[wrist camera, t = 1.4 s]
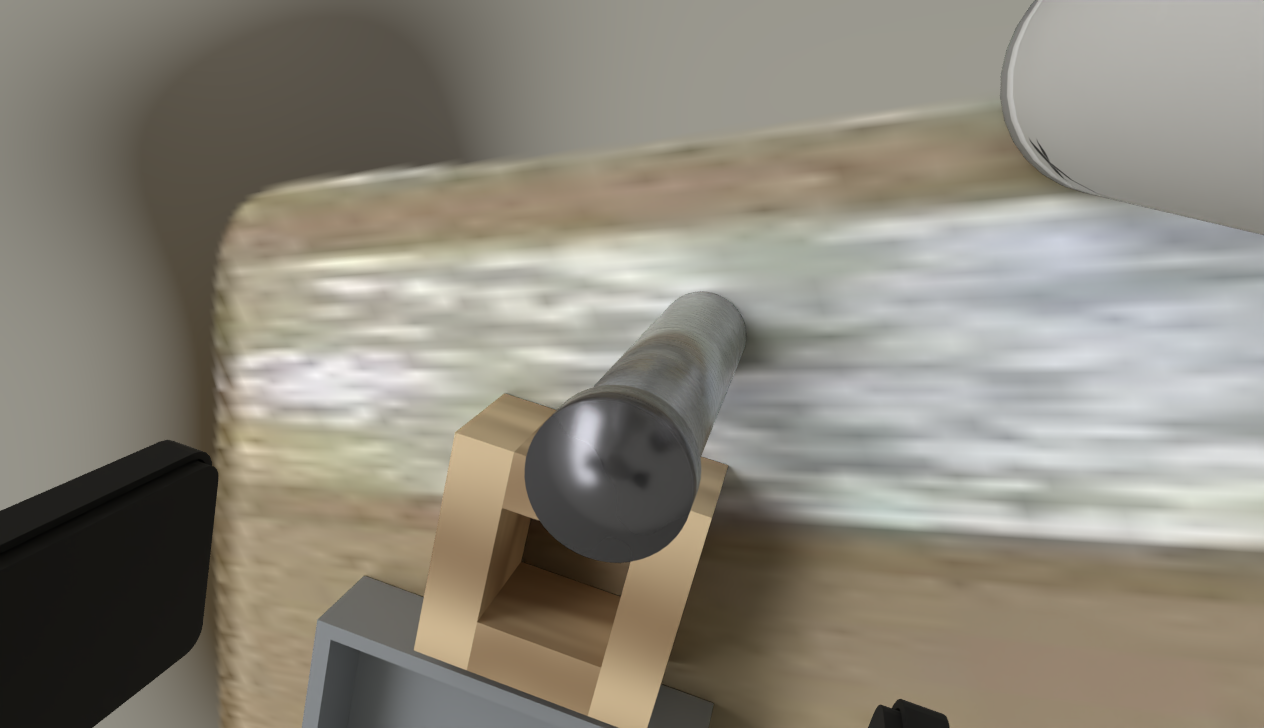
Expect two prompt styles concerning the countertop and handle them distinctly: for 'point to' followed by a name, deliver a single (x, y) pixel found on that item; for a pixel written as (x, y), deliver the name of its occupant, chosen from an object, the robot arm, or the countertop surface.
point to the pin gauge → (637, 436)
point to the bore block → (548, 585)
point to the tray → (429, 678)
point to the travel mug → (1144, 102)
